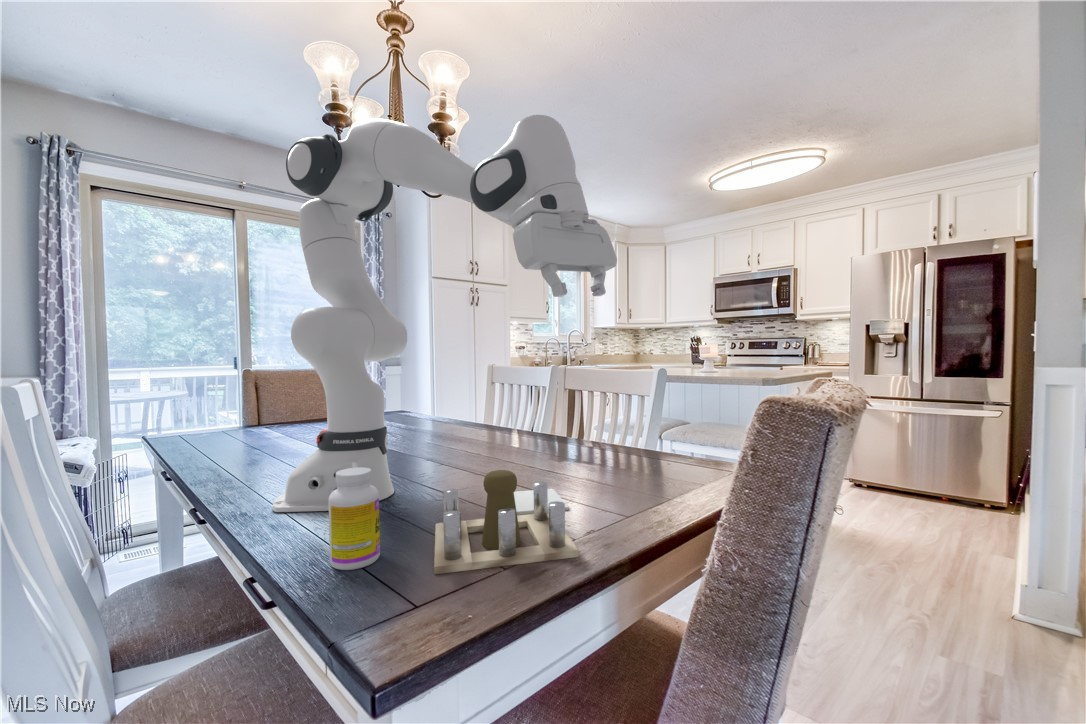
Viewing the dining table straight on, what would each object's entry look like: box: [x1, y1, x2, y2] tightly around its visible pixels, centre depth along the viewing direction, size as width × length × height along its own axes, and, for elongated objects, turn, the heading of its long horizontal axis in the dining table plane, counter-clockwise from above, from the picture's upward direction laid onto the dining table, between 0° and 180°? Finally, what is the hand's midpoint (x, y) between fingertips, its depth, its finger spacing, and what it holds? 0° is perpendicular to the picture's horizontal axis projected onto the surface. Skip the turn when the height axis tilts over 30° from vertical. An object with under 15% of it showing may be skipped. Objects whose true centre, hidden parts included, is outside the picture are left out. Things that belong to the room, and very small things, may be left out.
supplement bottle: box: [328, 467, 381, 571], centre depth 64 cm, size 7×7×13 cm
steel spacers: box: [442, 481, 566, 560], centre depth 70 cm, size 17×15×6 cm
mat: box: [514, 488, 570, 515], centre depth 88 cm, size 12×12×1 cm
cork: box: [481, 469, 522, 551], centre depth 70 cm, size 6×6×11 cm
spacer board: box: [433, 513, 580, 575], centre depth 70 cm, size 20×16×1 cm
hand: (581, 295), depth 72 cm, fingers open, 8 cm apart
